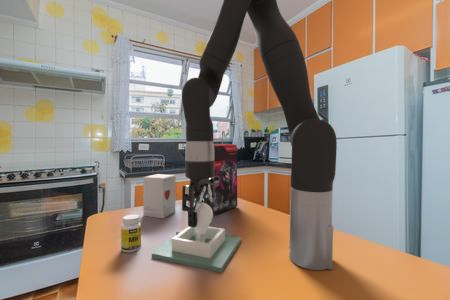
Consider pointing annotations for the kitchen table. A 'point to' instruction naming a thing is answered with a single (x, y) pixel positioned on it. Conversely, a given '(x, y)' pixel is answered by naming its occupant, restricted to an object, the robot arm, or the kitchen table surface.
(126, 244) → the supplement bottle
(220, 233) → the board
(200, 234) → the lightbulb
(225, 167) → the graphics card box
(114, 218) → the kitchen table surface
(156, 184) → the supplement box
